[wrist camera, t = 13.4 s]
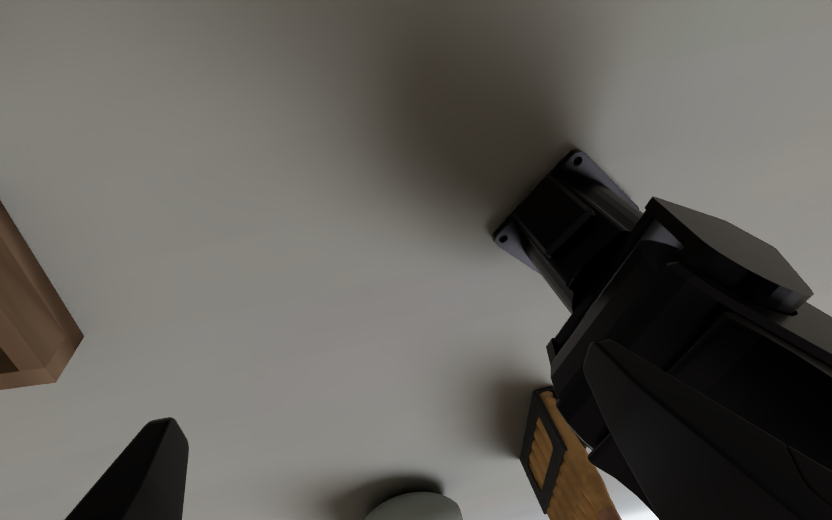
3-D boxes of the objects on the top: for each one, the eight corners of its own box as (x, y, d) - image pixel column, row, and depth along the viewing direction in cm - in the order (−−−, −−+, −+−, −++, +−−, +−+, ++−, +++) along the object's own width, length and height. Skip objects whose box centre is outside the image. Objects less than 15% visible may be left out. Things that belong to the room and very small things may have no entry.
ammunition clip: (533, 389, 33) (624, 560, 24) (554, 385, 33) (653, 551, 24) (519, 459, 39) (587, 617, 30) (537, 455, 40) (610, 610, 30)
